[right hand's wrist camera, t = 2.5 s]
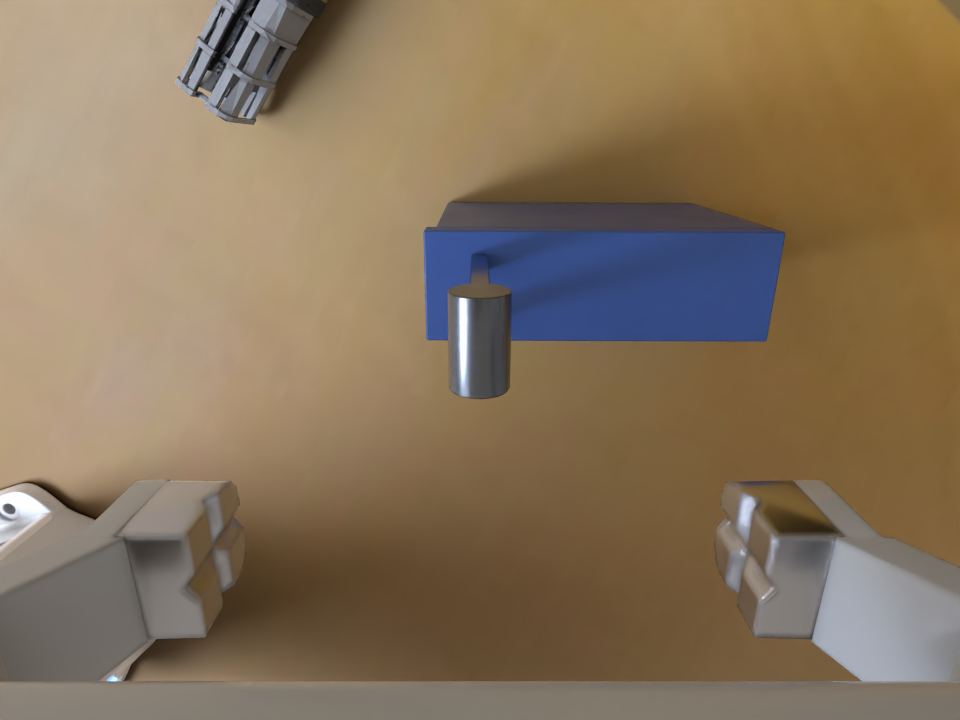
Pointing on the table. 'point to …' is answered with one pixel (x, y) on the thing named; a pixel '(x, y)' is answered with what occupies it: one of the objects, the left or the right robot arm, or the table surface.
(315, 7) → the toy gun
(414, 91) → the table surface
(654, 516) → the table surface
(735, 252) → the lid
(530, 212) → the chest
